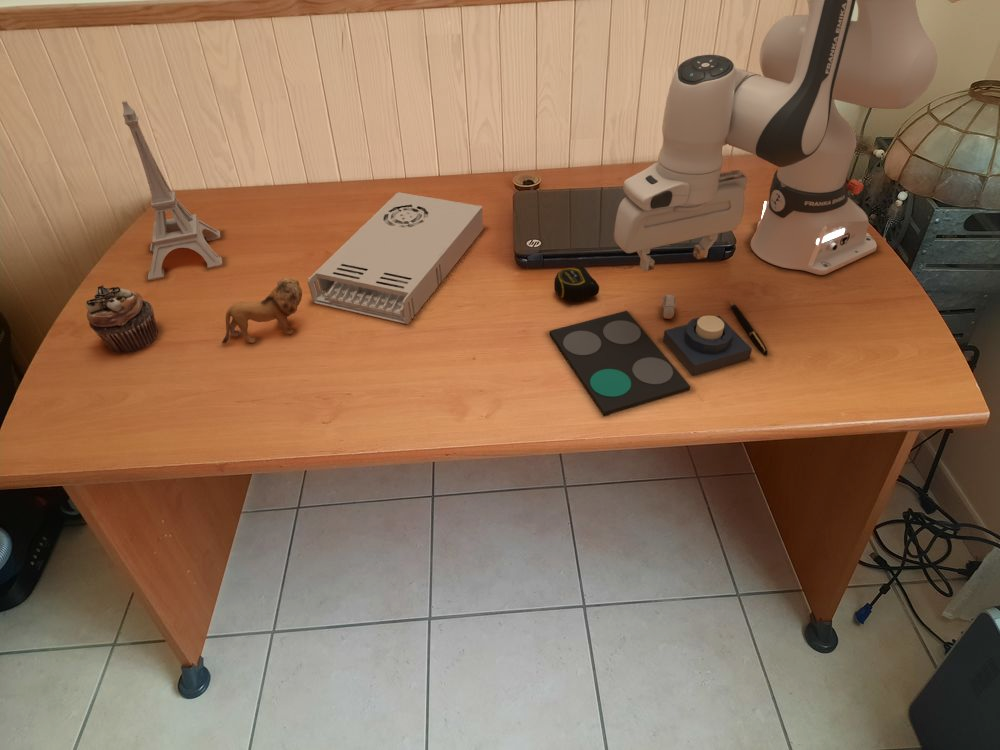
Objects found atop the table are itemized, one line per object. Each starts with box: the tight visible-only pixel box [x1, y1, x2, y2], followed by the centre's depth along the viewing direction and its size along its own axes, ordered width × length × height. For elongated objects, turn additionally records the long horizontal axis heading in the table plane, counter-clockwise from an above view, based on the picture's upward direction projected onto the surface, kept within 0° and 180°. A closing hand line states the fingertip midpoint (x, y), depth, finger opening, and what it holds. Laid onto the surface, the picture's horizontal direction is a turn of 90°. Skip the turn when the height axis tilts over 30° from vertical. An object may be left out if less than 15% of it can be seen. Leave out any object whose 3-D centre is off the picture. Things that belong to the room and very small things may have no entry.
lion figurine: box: [221, 276, 303, 344], centre depth 114 cm, size 15×5×9 cm, turn 116°
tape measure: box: [553, 264, 600, 302], centre depth 120 cm, size 7×7×4 cm
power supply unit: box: [307, 191, 485, 325], centre depth 129 cm, size 19×33×5 cm, turn 158°
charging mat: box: [549, 310, 691, 416], centre depth 108 cm, size 14×20×1 cm
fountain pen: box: [729, 300, 768, 355], centre depth 112 cm, size 14×1×2 cm, turn 9°
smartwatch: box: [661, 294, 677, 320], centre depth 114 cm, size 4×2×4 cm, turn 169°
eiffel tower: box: [121, 100, 223, 282], centre depth 126 cm, size 13×13×30 cm
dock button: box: [696, 314, 724, 340], centre depth 106 cm, size 4×4×2 cm
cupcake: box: [85, 284, 159, 354], centre depth 114 cm, size 10×10×10 cm
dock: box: [662, 315, 753, 377], centre depth 108 cm, size 10×9×4 cm
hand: (673, 262), depth 109 cm, fingers open, 8 cm apart
